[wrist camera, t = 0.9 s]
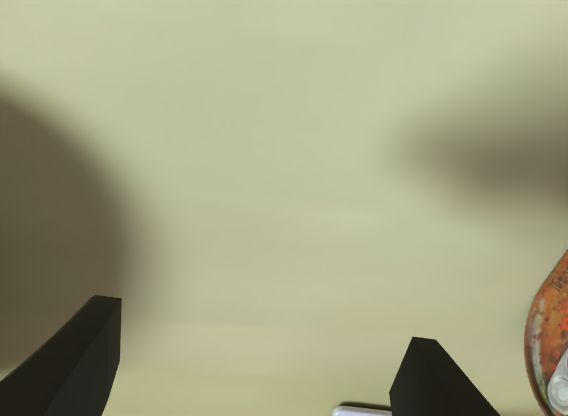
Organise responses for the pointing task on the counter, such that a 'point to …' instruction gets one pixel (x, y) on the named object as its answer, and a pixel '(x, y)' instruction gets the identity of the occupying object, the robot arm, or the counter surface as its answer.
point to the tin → (549, 342)
